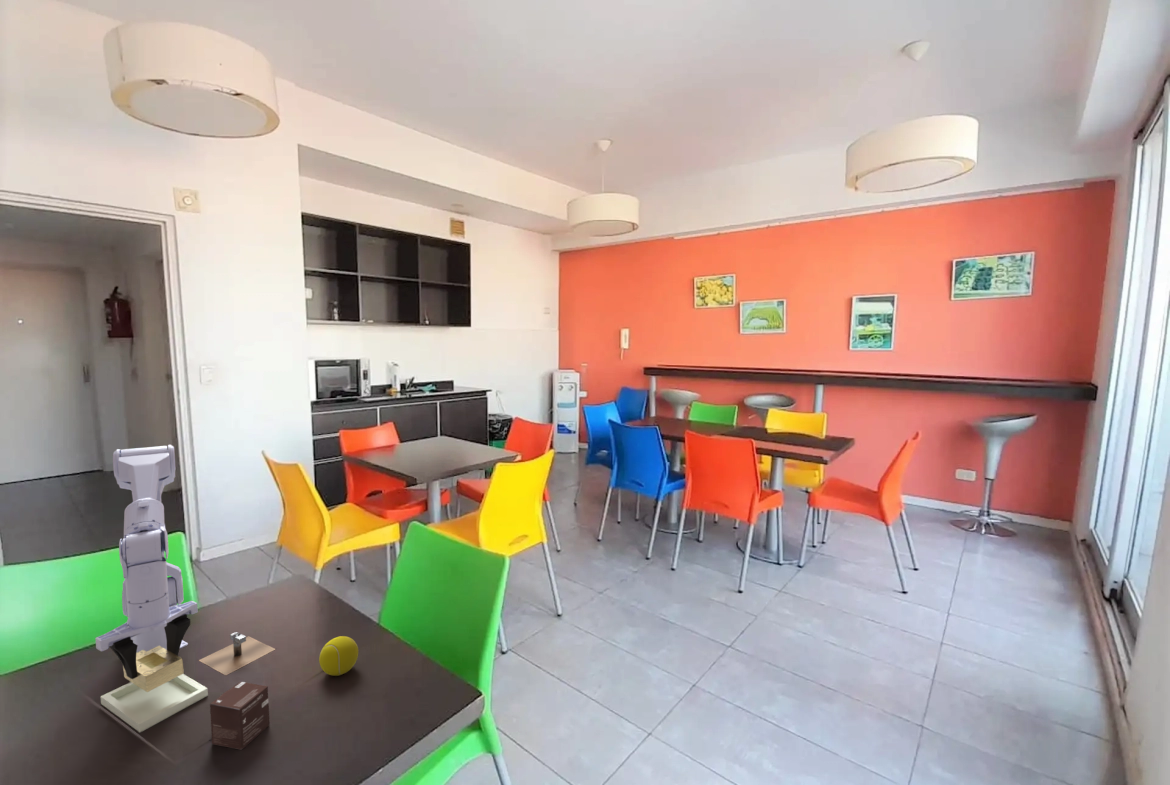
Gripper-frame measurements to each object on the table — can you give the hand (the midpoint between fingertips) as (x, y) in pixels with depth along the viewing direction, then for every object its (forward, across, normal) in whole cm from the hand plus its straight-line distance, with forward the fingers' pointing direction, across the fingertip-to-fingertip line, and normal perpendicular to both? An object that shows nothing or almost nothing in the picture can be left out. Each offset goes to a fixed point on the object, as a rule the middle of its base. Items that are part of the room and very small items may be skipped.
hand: (152, 666), depth 94 cm
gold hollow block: (+2, 0, 0) cm, 2 cm away
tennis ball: (+7, +22, -22) cm, 32 cm away
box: (+7, +3, -22) cm, 23 cm away
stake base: (+7, +15, +1) cm, 17 cm away
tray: (+7, 0, 0) cm, 7 cm away
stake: (+7, +15, +1) cm, 17 cm away
